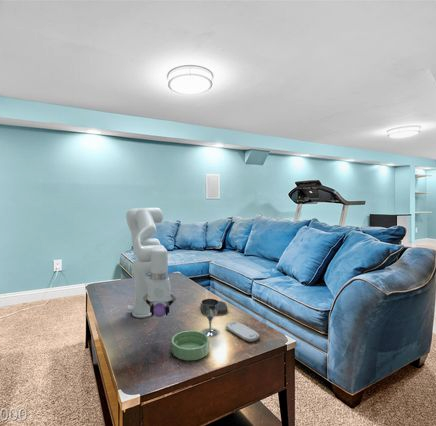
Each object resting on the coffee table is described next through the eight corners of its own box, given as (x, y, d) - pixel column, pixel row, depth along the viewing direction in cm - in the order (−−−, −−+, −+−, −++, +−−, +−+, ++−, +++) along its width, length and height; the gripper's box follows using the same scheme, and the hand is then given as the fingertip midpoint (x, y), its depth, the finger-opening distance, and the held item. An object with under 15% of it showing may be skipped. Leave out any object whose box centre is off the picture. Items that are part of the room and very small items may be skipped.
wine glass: (213, 338, 124) (213, 306, 124) (199, 333, 128) (198, 302, 128) (221, 331, 131) (221, 300, 130) (207, 327, 135) (206, 297, 135)
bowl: (170, 361, 106) (169, 349, 106) (173, 341, 122) (173, 330, 122) (209, 362, 106) (209, 349, 106) (208, 341, 122) (208, 330, 121)
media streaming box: (228, 314, 150) (228, 309, 150) (202, 315, 149) (202, 310, 149) (223, 304, 164) (223, 299, 164) (199, 305, 163) (199, 300, 163)
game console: (223, 323, 134) (235, 319, 138) (223, 328, 134) (235, 324, 138) (249, 339, 118) (262, 334, 123) (249, 344, 118) (262, 339, 123)
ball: (152, 319, 121) (152, 306, 120) (154, 313, 127) (154, 300, 126) (165, 319, 120) (165, 306, 120) (167, 313, 126) (167, 301, 126)
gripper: (138, 278, 119) (139, 317, 120) (177, 278, 118) (177, 318, 119) (142, 273, 126) (142, 310, 127) (179, 273, 126) (179, 311, 127)
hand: (159, 313), depth 123 cm, fingers closed on ball, 5 cm apart
